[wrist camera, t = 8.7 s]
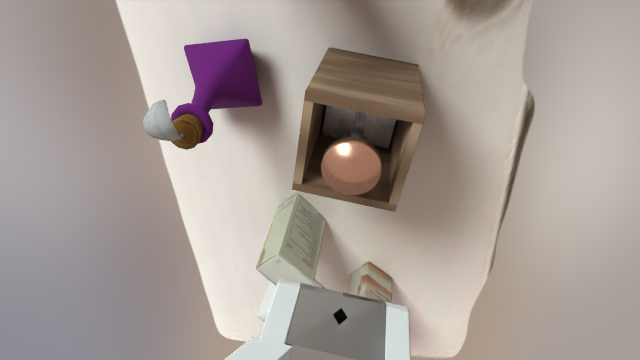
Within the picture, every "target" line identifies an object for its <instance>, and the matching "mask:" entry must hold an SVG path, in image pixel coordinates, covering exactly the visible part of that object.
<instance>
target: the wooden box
mask: <svg viewBox="0 0 640 360" xmlns="http://www.w3.org/2000/svg"><path fill="white" fill-rule="evenodd" d="M327 105H328V106H333V107H338V108H343V109H348V110H353V111H358V112H363V113H368V114H373V115H378V116H383V117H388V118H392V119H396V122H395V126H394V130H393V133H392V137H391V140H390V144H389V148H384V147H379V146H374V145H373V146H374V147H375V148H376V149H377V151H378V152H379V154H380V157H381V175H380V178H379V181H378V183H377V184H376V185H375V186H374V187H373V188H372V189H371V190H369V191H368V192H365V193H363V194H359V195H347V194H342V193H340V192H337V191H335V190H334V189H332V188H331V187H330V186H329V185H328V184H327V183H326V181H325V180H324V178H323V176H322V172H321V164H322V160H323V157H324V154H325V151H326V149H327V148H328V147H329V145H331V144H332V143H333V142H334V141H336V140H338V139H340V138H335V137H331V136H326V135H322V130H323V124H324V118H325V112H326V107H327ZM425 116H426V115H425V108H424V101H423V95H422V88H421V81H420V74H419V68H418V65H416V64H411V63H406V62H401V61H396V60H391V59H386V58H381V57H375V56H370V55H365V54H360V53H355V52H350V51H345V50H340V49H335V48H329V49H328V50H327V52H326V54H325V56H324V58H323V60H322V62H321V63H320V65H319V67H318V69H317V71H316V73H315V75H314V76H313V78H312V80H311V82H310V84H309V86H308V88H307V89H306V91H305V98H304V105H303V113H302V120H301V128H300V135H299V143H298V151H297V158H296V166H295V173H294V181H293V188H292V190H296V191H301V192H306V193H310V194H315V195H320V196H324V197H329V198H334V199H338V200H343V201H348V202H352V203H357V204H362V205H366V206H371V207H375V208H380V209H385V210H389V211H394V212H395V210H396V207H397V204H398V201H399V198H400V195H401V191H402V188H403V185H404V182H405V179H406V176H407V173H408V170H409V166H410V163H411V160H412V157H413V154H414V151H415V148H416V145H417V141H418V138H419V135H420V132H421V129H422V126H423V123H424V120H425Z"/></svg>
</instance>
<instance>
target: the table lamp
mask: <svg viewBox="0 0 640 360" xmlns="http://www.w3.org/2000/svg"><path fill="white" fill-rule="evenodd" d="M395 122H396V119H392V118H388V117H383V116H378V115H373V114H368V113H363V112H358V111H353V110H348V109H343V108H338V107H333V106H328V105H327V107H326V112H325V118H324V124H323V130H322V135H326V136H331V137H335V138H340V139H338V140H336V141H334V142H333V143H332V144H331V145H329V147H328V148H327V149H326V151H325V154H324V157H323V160H322V164H321V172H322V176H323V178H324V180H325V181H326V183H327V184H328V185H329V186H330V187H331V188H332V189H334V190H335V191H337V192H340V193H342V194H347V195H359V194H363V193H365V192H368V191H369V190H371V189H372V188H373V187H374V186H375V185H376V184H377V183H378V181H379V178H380V175H381V157H380V154H379V152H378V151H377V149H376V148H375V147H374V146H379V147H384V148H389V144H390V140H391V137H392V133H393V130H394V126H395ZM373 145H374V146H373Z"/></svg>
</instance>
